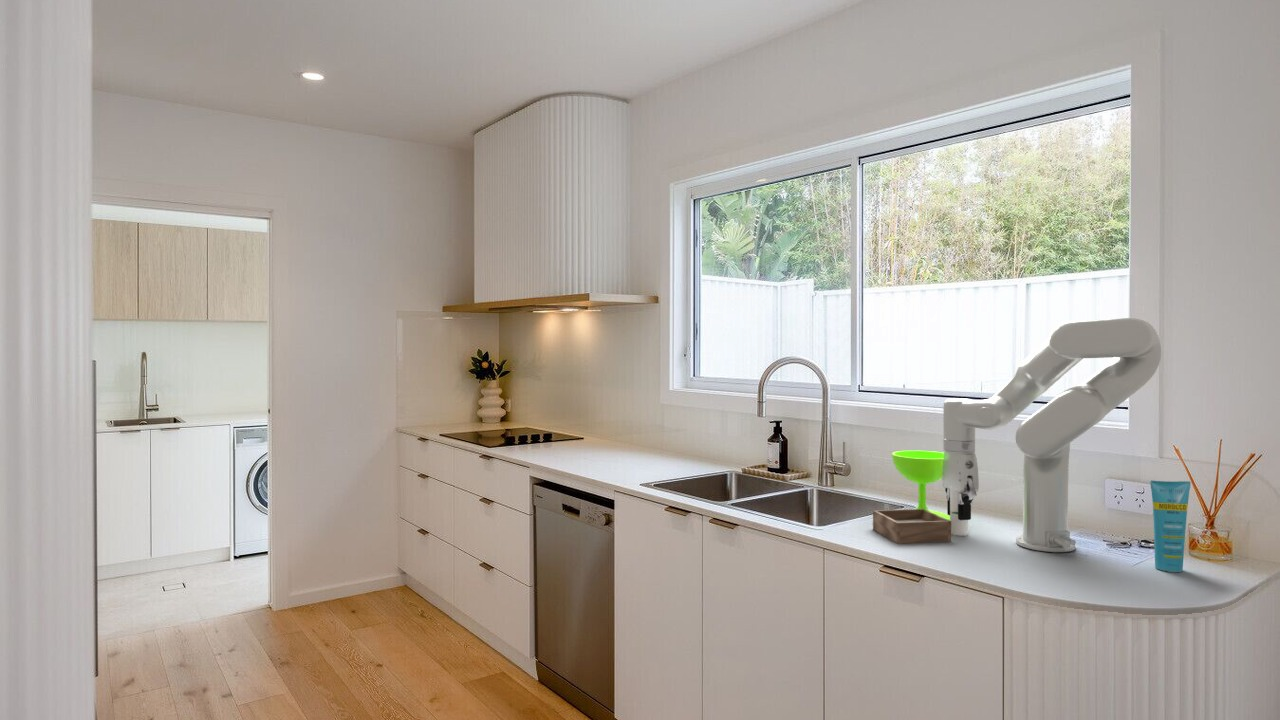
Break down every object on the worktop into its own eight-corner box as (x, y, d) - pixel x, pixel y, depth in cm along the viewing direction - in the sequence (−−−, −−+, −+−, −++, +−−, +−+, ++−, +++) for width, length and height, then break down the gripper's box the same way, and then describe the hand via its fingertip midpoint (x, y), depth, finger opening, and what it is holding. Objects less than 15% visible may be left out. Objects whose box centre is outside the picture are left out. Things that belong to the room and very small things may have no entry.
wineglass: (880, 514, 214) (880, 452, 214) (928, 511, 218) (928, 449, 218) (915, 527, 198) (915, 460, 198) (966, 523, 203) (966, 457, 202)
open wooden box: (951, 541, 184) (951, 521, 184) (897, 543, 183) (897, 523, 183) (923, 527, 198) (923, 508, 198) (873, 529, 197) (873, 510, 197)
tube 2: (1156, 572, 159) (1156, 482, 158) (1144, 565, 164) (1145, 478, 163) (1194, 573, 158) (1195, 483, 157) (1181, 566, 162) (1182, 478, 162)
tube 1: (946, 531, 194) (946, 474, 194) (962, 531, 194) (962, 473, 194) (955, 535, 190) (955, 477, 189) (971, 535, 190) (971, 476, 190)
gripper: (991, 450, 184) (991, 524, 184) (955, 442, 200) (955, 509, 201) (963, 451, 183) (963, 525, 183) (928, 442, 200) (928, 510, 200)
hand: (959, 516), depth 192 cm, fingers closed on tube 1, 4 cm apart
